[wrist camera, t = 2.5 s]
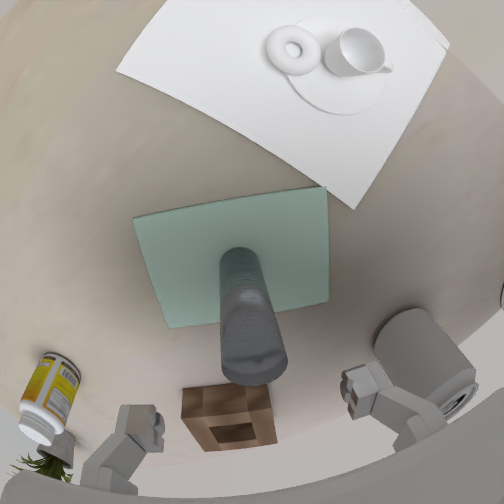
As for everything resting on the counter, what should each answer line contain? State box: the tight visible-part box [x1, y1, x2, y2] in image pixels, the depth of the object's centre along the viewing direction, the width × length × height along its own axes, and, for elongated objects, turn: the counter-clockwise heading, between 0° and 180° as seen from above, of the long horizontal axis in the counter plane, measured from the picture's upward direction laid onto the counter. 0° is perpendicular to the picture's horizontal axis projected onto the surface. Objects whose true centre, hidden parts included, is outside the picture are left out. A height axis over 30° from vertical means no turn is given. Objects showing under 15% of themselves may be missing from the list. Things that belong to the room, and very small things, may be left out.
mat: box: [132, 186, 329, 329], centre depth 21 cm, size 14×10×1 cm
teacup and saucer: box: [265, 14, 394, 116], centre depth 13 cm, size 9×8×4 cm
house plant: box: [13, 430, 75, 483], centre depth 24 cm, size 14×14×16 cm
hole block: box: [181, 383, 278, 452], centre depth 27 cm, size 9×9×4 cm
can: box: [374, 308, 479, 421], centre depth 22 cm, size 8×8×12 cm
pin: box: [219, 247, 288, 386], centre depth 16 cm, size 3×3×10 cm
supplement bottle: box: [18, 354, 80, 446], centre depth 20 cm, size 6×6×10 cm
